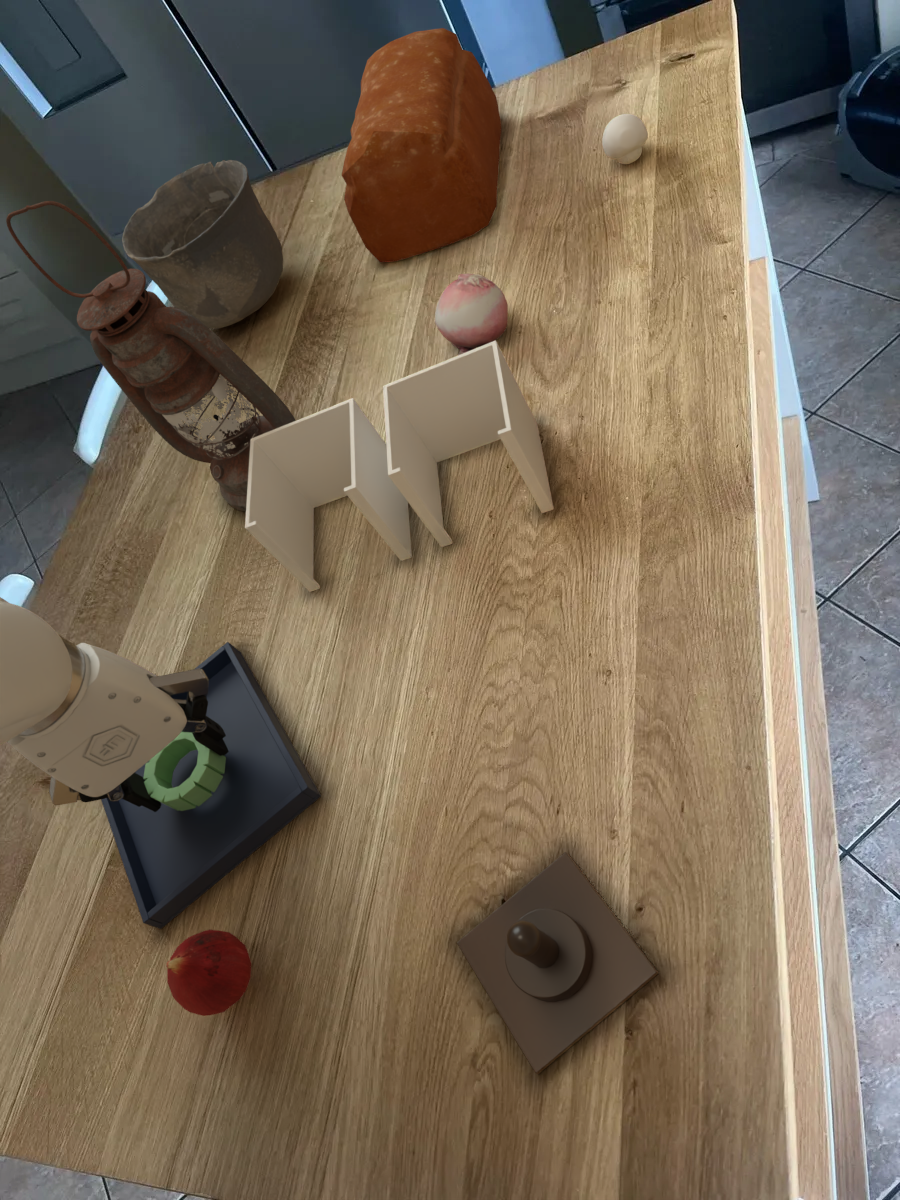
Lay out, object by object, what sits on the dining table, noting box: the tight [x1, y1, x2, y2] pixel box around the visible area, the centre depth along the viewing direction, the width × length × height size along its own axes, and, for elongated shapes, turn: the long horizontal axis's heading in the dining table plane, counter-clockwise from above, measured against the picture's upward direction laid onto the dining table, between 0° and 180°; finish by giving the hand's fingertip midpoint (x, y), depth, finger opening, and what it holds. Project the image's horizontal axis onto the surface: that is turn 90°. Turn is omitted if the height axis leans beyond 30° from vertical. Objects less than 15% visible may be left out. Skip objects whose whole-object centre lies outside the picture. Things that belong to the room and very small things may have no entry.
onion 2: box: [434, 272, 509, 356], centre depth 93 cm, size 8×8×7 cm
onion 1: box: [165, 929, 252, 1017], centre depth 66 cm, size 6×6×8 cm
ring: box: [143, 732, 226, 811], centre depth 79 cm, size 7×7×2 cm
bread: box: [341, 27, 502, 263], centre depth 109 cm, size 17×24×15 cm
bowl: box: [121, 159, 284, 329], centre depth 113 cm, size 18×18×15 cm
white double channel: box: [244, 340, 555, 593], centre depth 83 cm, size 25×11×11 cm, turn 95°
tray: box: [100, 641, 322, 930], centre depth 80 cm, size 17×19×2 cm
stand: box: [456, 851, 659, 1075], centre depth 58 cm, size 10×10×7 cm
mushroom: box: [601, 113, 649, 165], centre depth 100 cm, size 5×5×5 cm
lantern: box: [5, 200, 296, 512], centre depth 86 cm, size 11×16×35 cm
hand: (186, 769), depth 79 cm, fingers closed on ring, 6 cm apart
